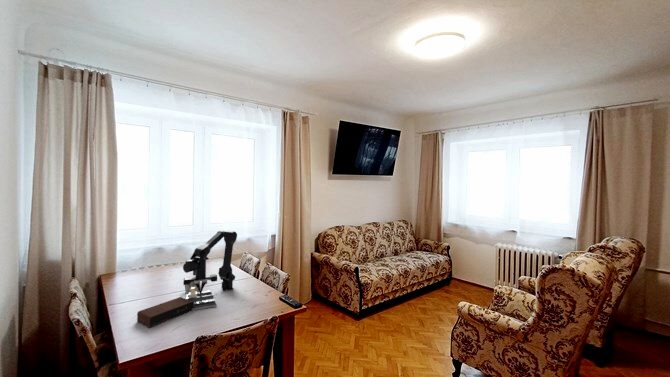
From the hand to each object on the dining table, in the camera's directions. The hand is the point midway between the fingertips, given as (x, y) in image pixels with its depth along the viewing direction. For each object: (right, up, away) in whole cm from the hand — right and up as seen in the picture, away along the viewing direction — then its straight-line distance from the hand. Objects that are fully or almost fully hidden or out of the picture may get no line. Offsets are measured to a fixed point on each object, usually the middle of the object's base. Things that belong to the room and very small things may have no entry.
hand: (200, 293), depth 176 cm
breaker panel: (0, -4, 0) cm, 4 cm away
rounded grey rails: (+6, -5, -11) cm, 13 cm away
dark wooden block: (-8, -5, -21) cm, 23 cm away
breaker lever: (-4, -2, -2) cm, 5 cm away
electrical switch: (-12, -4, +14) cm, 19 cm away
